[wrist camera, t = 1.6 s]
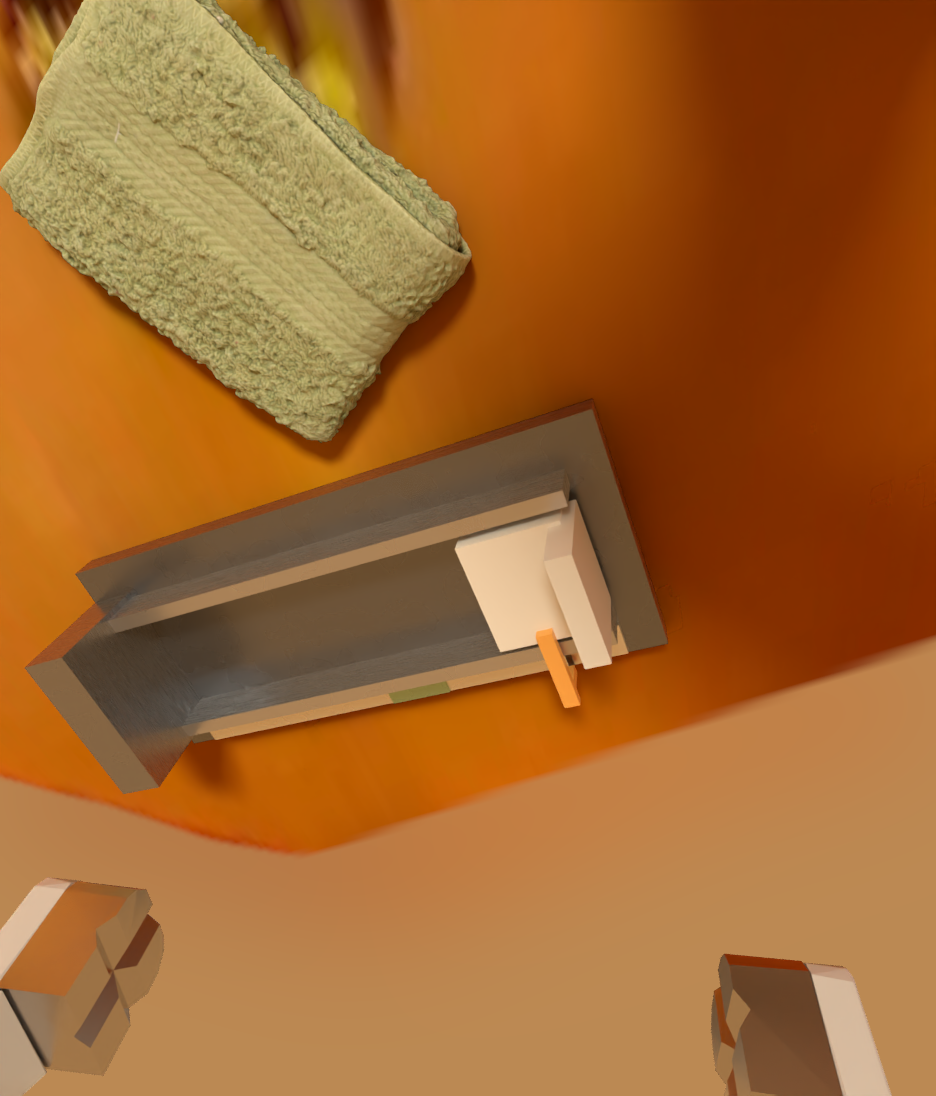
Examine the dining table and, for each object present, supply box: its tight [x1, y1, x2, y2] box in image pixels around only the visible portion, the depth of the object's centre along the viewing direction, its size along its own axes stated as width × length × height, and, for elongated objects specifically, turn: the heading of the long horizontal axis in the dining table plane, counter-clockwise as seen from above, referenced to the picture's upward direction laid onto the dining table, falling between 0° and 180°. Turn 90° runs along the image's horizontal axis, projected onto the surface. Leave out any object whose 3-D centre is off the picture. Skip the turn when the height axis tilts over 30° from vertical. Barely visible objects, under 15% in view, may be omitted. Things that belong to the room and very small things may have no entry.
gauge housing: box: [25, 399, 668, 794], centre depth 37 cm, size 30×13×8 cm, turn 112°
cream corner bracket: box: [455, 499, 612, 708], centre depth 34 cm, size 6×10×5 cm, turn 22°
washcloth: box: [0, 0, 472, 443], centre depth 31 cm, size 13×18×3 cm
